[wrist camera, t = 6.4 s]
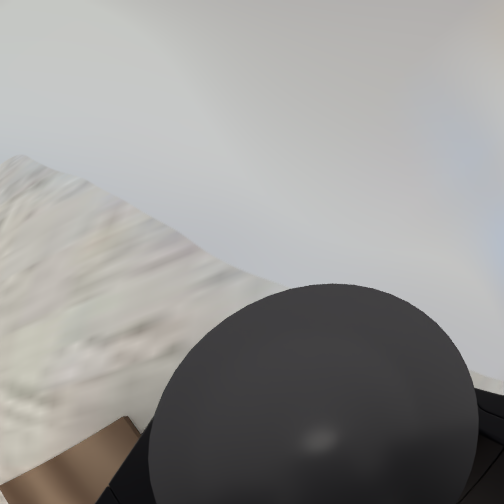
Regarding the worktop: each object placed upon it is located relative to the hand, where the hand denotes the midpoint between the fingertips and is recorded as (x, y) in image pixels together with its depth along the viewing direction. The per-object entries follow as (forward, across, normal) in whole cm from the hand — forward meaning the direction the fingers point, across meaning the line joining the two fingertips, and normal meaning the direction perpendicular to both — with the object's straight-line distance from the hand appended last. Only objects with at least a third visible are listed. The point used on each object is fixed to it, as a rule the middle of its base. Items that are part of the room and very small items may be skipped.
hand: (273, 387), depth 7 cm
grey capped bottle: (+4, 0, +6) cm, 7 cm away
